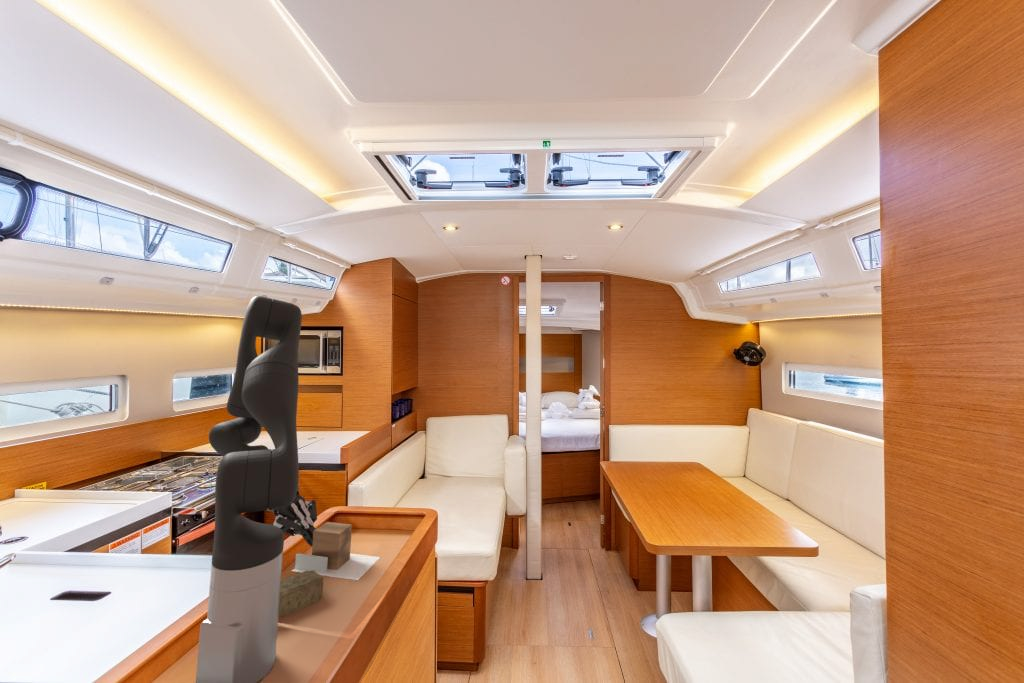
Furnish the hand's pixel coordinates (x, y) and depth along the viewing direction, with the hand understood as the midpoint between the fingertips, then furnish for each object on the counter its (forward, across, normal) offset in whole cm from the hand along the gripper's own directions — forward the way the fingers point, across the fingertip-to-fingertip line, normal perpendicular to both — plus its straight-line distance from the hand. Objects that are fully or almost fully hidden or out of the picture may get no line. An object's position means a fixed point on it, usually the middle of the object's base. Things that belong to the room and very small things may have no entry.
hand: (316, 542), depth 90 cm
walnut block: (+6, 0, 0) cm, 6 cm away
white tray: (+6, 0, +1) cm, 6 cm away
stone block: (+7, -15, 0) cm, 17 cm away
